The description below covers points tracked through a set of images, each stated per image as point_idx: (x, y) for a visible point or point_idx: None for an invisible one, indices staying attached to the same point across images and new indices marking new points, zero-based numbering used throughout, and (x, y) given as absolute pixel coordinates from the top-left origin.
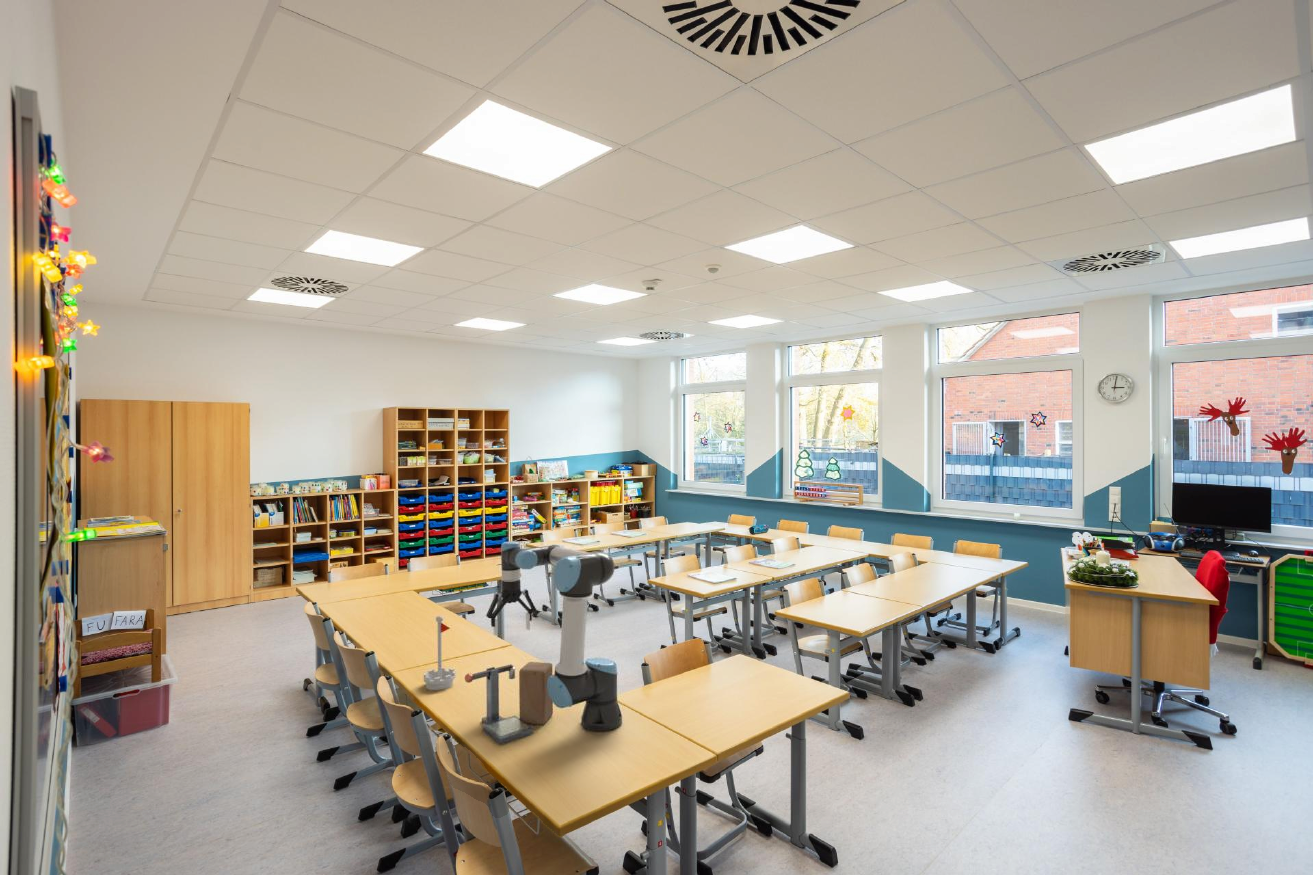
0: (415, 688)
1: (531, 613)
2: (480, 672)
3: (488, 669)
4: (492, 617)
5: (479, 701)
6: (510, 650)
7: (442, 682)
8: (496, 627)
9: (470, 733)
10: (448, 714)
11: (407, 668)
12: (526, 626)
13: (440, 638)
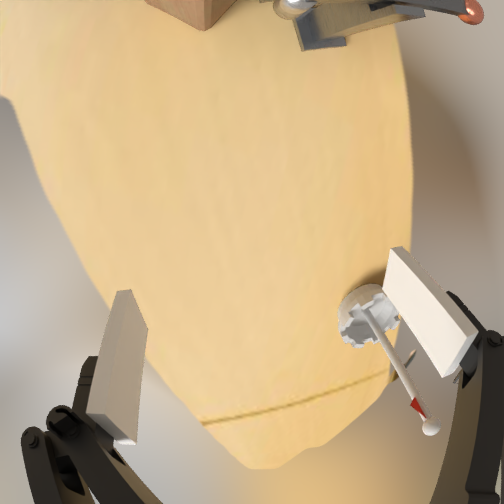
0: None
1: (62, 407)
2: (443, 5)
3: (417, 8)
4: (501, 338)
5: (320, 176)
6: (192, 412)
7: (376, 290)
8: (428, 281)
9: None
10: (399, 134)
11: (371, 377)
12: (141, 333)
13: (410, 383)
